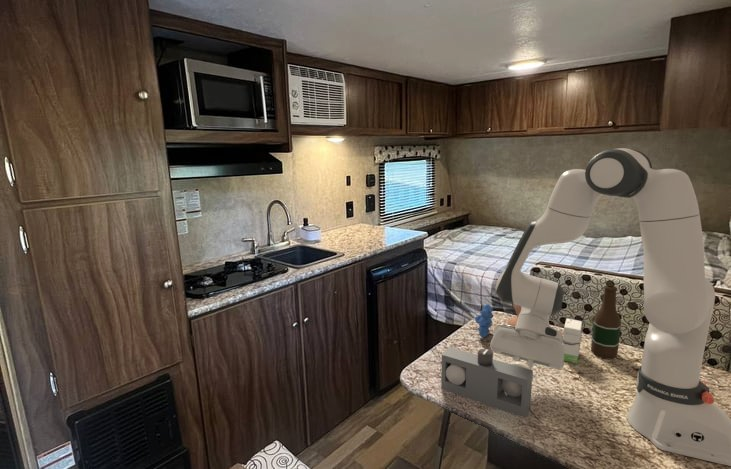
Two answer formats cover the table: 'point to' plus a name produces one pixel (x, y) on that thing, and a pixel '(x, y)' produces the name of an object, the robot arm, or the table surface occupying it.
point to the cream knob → (512, 387)
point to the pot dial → (485, 357)
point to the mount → (488, 382)
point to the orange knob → (456, 374)
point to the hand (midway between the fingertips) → (520, 374)
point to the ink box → (572, 340)
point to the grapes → (484, 320)
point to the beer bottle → (606, 326)
